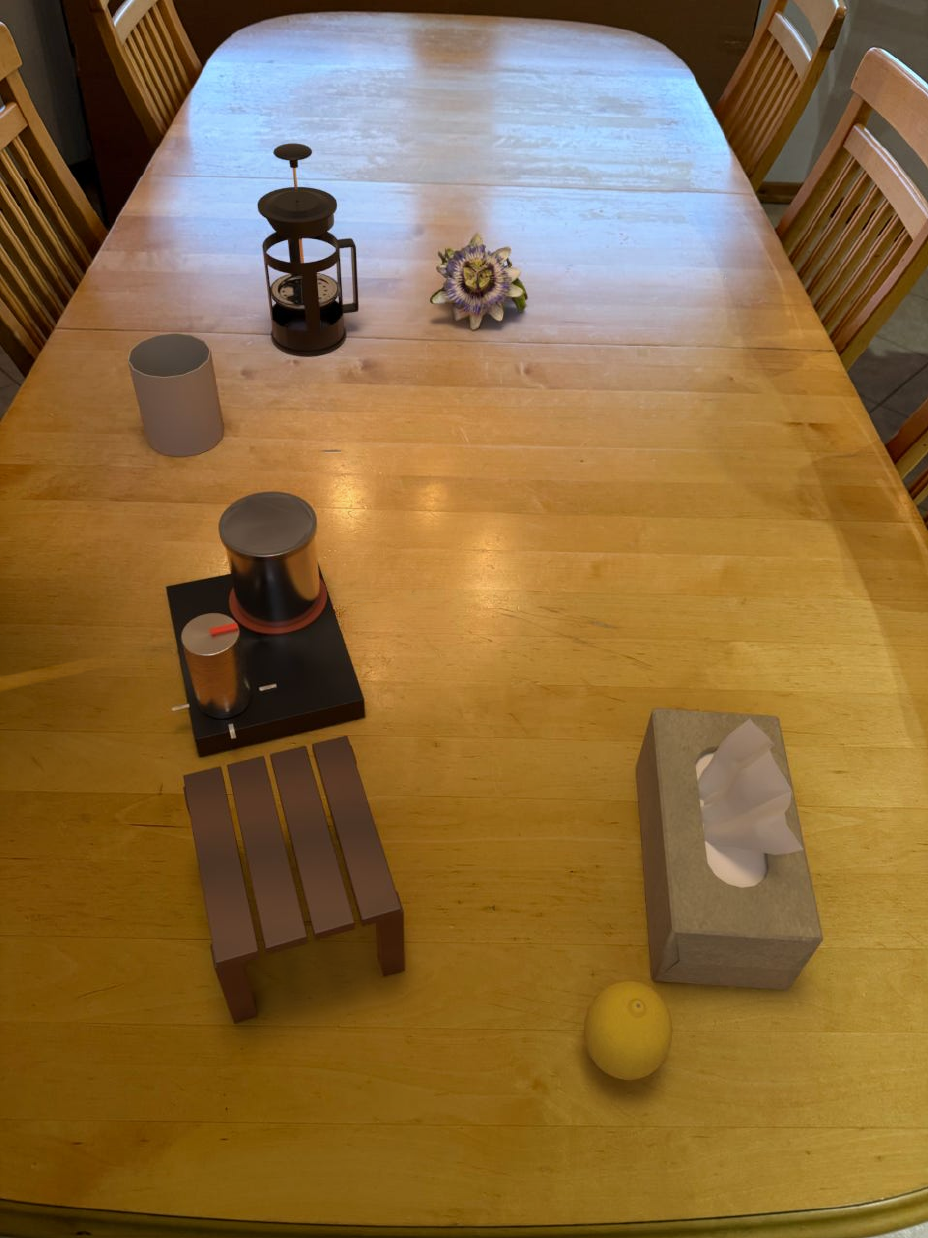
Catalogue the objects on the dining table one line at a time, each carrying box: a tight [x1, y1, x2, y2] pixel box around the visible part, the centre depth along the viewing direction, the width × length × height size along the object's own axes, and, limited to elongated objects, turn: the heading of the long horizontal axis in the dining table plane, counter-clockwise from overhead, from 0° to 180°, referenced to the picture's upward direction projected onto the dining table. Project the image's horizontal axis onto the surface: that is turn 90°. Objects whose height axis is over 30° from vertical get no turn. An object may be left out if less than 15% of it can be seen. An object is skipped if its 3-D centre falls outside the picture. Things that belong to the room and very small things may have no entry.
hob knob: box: [181, 613, 252, 719], centre depth 79 cm, size 4×4×8 cm
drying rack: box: [182, 735, 406, 1024], centre depth 69 cm, size 14×12×10 cm
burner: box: [229, 577, 328, 635], centre depth 90 cm, size 9×9×1 cm
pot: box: [217, 491, 321, 627], centre depth 87 cm, size 8×8×9 cm
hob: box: [165, 563, 366, 758], centre depth 87 cm, size 19×15×3 cm
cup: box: [127, 332, 225, 458], centre depth 106 cm, size 8×8×10 cm
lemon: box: [583, 980, 673, 1081], centre depth 63 cm, size 6×6×8 cm
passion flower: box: [429, 232, 529, 331], centre depth 127 cm, size 11×11×12 cm
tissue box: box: [635, 707, 824, 991], centre depth 70 cm, size 19×10×16 cm, turn 177°
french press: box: [257, 142, 360, 357], centre depth 116 cm, size 12×9×23 cm
